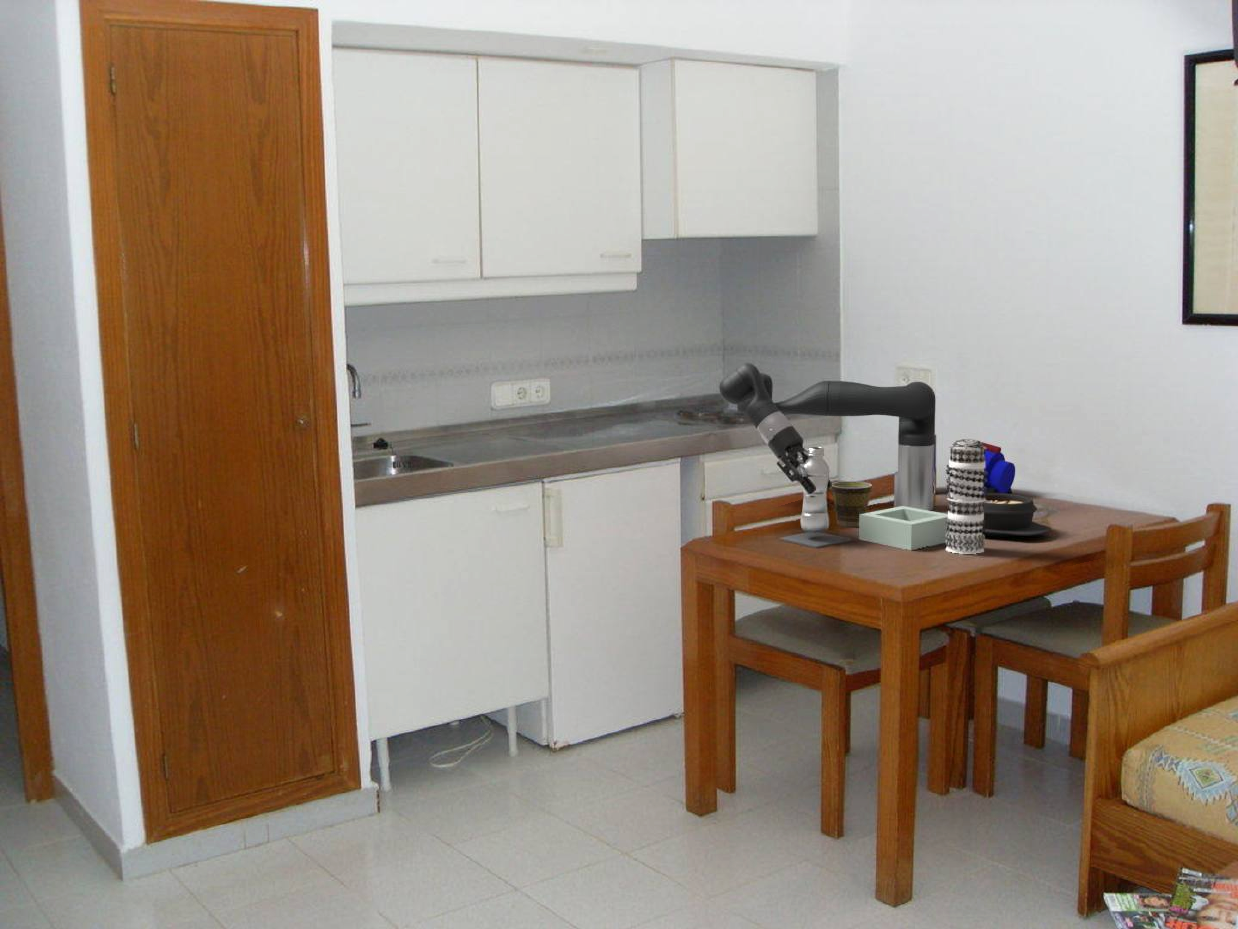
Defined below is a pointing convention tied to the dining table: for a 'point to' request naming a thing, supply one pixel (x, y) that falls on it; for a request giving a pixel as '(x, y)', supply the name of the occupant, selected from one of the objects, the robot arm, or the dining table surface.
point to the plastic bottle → (815, 492)
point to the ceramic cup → (850, 501)
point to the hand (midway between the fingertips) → (821, 489)
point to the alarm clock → (997, 471)
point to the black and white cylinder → (966, 497)
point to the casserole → (1010, 516)
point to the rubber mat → (815, 539)
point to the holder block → (903, 527)
